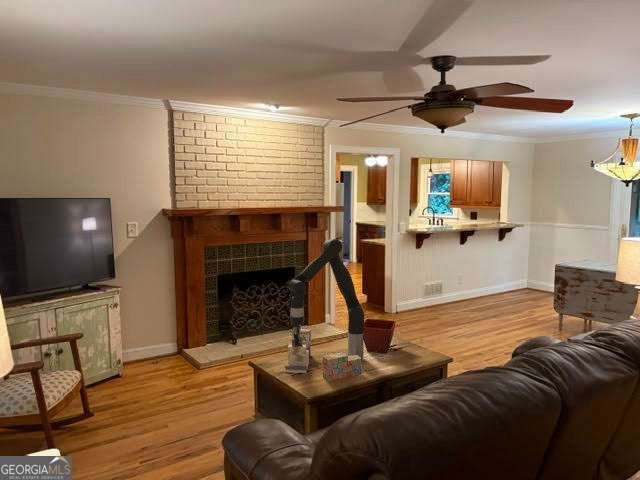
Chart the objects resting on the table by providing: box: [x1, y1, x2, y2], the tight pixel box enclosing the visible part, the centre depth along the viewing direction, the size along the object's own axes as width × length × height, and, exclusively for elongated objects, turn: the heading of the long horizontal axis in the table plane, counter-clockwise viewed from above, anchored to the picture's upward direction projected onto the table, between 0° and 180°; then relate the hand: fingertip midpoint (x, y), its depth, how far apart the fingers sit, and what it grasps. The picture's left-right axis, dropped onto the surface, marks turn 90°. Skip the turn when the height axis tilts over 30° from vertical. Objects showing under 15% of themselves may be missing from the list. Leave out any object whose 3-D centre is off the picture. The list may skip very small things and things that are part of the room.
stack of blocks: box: [322, 352, 363, 382], centre depth 255 cm, size 21×6×12 cm, turn 116°
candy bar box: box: [291, 328, 312, 358], centre depth 283 cm, size 11×5×16 cm, turn 84°
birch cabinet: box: [287, 338, 306, 362], centre depth 264 cm, size 10×5×12 cm, turn 84°
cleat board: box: [284, 350, 310, 374], centre depth 265 cm, size 12×12×9 cm
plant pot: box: [363, 318, 396, 354], centre depth 295 cm, size 19×19×17 cm
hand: (297, 344), depth 264 cm, fingers closed on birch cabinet, 1 cm apart
